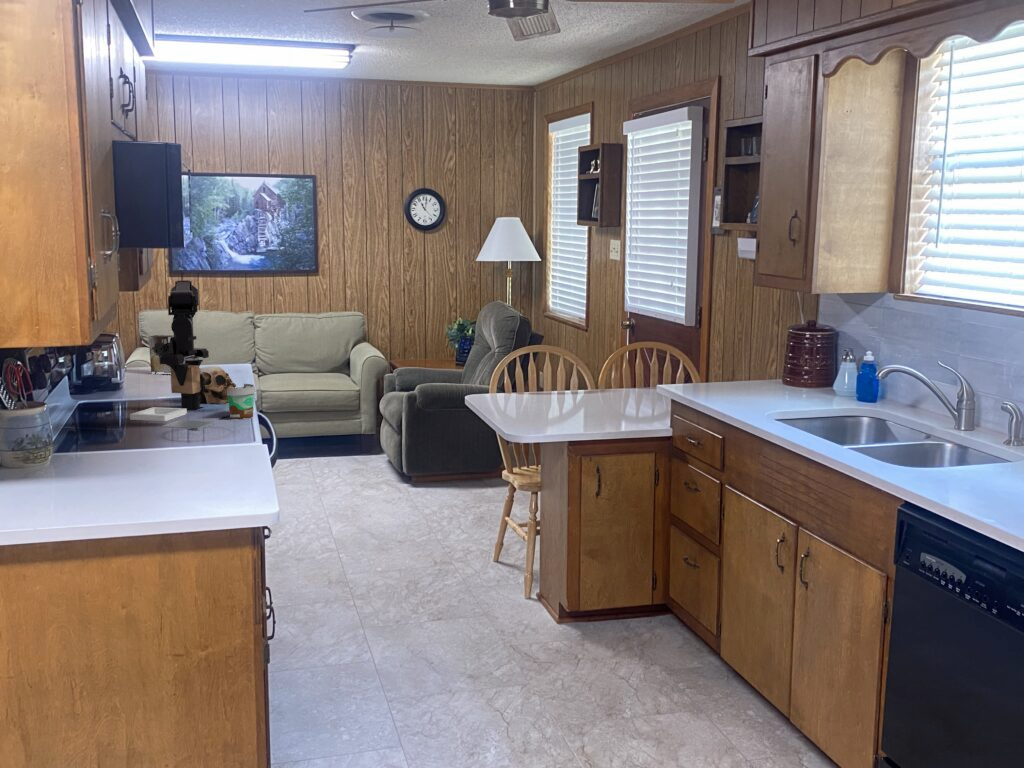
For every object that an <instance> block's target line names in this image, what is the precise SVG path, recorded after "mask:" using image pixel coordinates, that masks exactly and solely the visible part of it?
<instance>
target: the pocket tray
mask: <svg viewBox="0 0 1024 768" xmlns="http://www.w3.org/2000/svg"><path fill="white" fill-rule="evenodd" d="M184 415H188V410H187V409H185V408H181V407H159V406H157V407H156V406H153V407H149V408H146V409H143V410H139V411H136V412H132V413H129V420H130V421H147V422H149V421H152V422H153V421H154V422H167V421H170V420H173V419H176V418H179V417H182V416H184Z"/></svg>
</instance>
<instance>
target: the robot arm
mask: <svg viewBox="0 0 1024 768" xmlns="http://www.w3.org/2000/svg"><path fill="white" fill-rule="evenodd" d="M192 282H193V281H192V280H184V279H183V280H181V279H180V280H175V281H174V287H172V288H171V289H170V295H168V296H167V305H168V306H167V308H168V309H167V311H168V312H167V313H168V314H167V315H168V316H173V317H172V322H171V326H170V327H171V331H172V333H173V336H174V337H171V338H170V342H169V343H166V344H163V343H162V342H159V343H156V344H155V345H154V353H156V354H158V356H159V364H166V365H167V366H170V367H171V368H172V369H173V370H174V372H175V375H176V377H177V380H178V382H179V385H180V386H183V385H184V382H185V378H186V373H187V369H188V365H198V366H199V372H200V368H201V367H200V366H201V364H202V363H203V361H204V359H208V358H210V357H209V355H210V354H209V352H210V351H209V350H208V349H207V348H203V347H202V348H200V347H199V348H198V347H195V340H197V335H194V321H193V320H194V319H193V318H194V317H195V315H196V313H198V306H200V299H199V290H198V288H197V287H196V286H194V285H193V284H192ZM200 358H202V359H200ZM200 387H201V388H200V392H204V391H205V378H204V377H203V376H202V374H200ZM180 403H181V404H180V405H181V407H180V408H185V409H187V411H197V410H201V409H203V408H205V407H204V406H201V402H200V395H199V392H197V393H194V394H185V393H180Z"/></svg>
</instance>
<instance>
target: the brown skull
mask: <svg viewBox="0 0 1024 768" xmlns="http://www.w3.org/2000/svg"><path fill="white" fill-rule="evenodd" d="M199 368H200V374H202V376H203V377H204V378H205V391H204V392H199V395H200V403H206V404H207V403H229V400H228V396H227V391H228V389H235V388H237V384H236V383H234V382H233V380H232V378H231V377H230V376H229V373H227V372H225V370H224V369H223V368H222V367H219V366H216V365H215V366H213V365H212V366H211V365H210V366H204V367H199ZM200 388H201V387H200Z"/></svg>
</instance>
